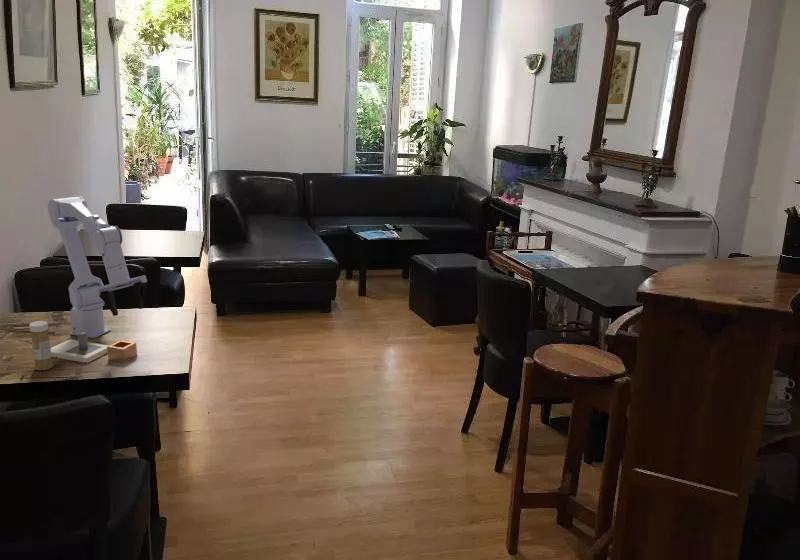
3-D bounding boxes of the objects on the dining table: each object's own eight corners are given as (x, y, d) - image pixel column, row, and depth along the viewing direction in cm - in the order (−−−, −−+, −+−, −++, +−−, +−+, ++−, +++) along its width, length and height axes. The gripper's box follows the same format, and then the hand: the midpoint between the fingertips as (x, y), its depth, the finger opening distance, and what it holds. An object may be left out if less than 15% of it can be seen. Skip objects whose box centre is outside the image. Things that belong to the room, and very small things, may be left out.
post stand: (45, 355, 193) (42, 334, 191) (70, 343, 202) (68, 324, 200) (87, 362, 189) (85, 341, 187) (111, 350, 198) (109, 330, 196)
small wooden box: (108, 359, 192) (107, 346, 191) (121, 352, 197) (120, 340, 196) (124, 362, 190) (123, 349, 189) (137, 355, 195) (136, 342, 194)
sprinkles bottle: (32, 367, 184) (26, 322, 181) (49, 363, 188) (43, 319, 184) (39, 372, 182) (33, 327, 178) (56, 367, 185) (50, 322, 181)
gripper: (85, 273, 188) (98, 319, 188) (135, 260, 189) (148, 306, 189) (96, 273, 195) (108, 317, 195) (143, 261, 196) (156, 305, 196)
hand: (128, 312), depth 193 cm, fingers open, 7 cm apart
